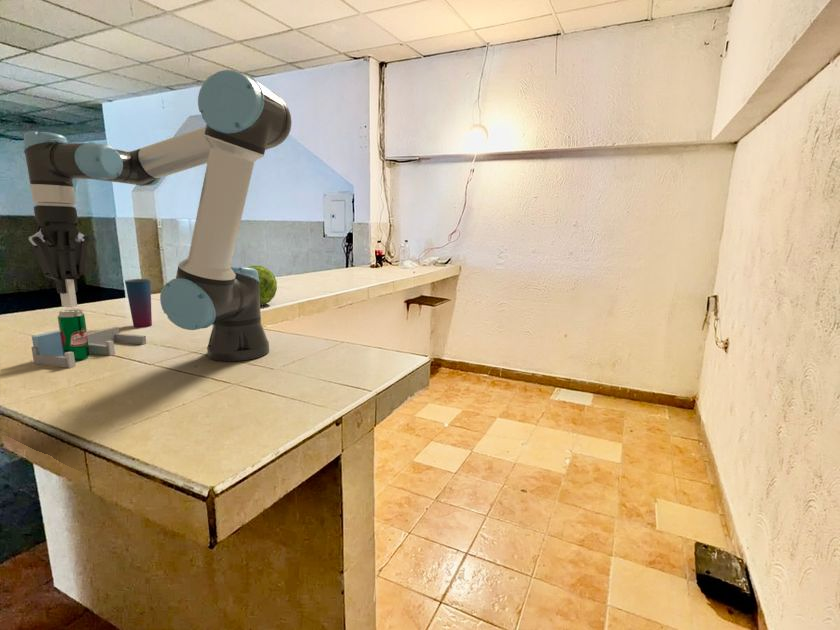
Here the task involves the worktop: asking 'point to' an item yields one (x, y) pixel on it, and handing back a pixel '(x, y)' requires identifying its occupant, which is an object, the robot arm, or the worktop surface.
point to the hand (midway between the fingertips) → (69, 306)
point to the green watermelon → (266, 284)
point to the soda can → (74, 333)
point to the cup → (140, 301)
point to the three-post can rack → (51, 352)
